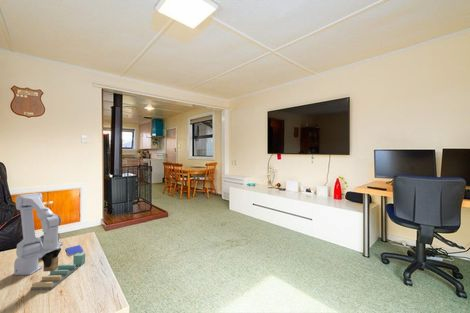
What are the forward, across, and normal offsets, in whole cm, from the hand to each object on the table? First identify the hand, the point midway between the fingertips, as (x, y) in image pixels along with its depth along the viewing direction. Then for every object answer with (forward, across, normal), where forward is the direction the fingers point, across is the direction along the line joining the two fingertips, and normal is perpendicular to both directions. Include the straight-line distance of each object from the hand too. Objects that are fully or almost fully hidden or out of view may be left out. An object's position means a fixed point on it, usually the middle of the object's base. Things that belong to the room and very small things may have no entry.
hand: (50, 265), depth 109 cm
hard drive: (+9, +36, +11) cm, 38 cm away
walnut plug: (+2, 0, 0) cm, 3 cm away
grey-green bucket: (+9, +33, +25) cm, 42 cm away
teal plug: (+9, +17, -4) cm, 20 cm away
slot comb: (+9, +2, -1) cm, 9 cm away
